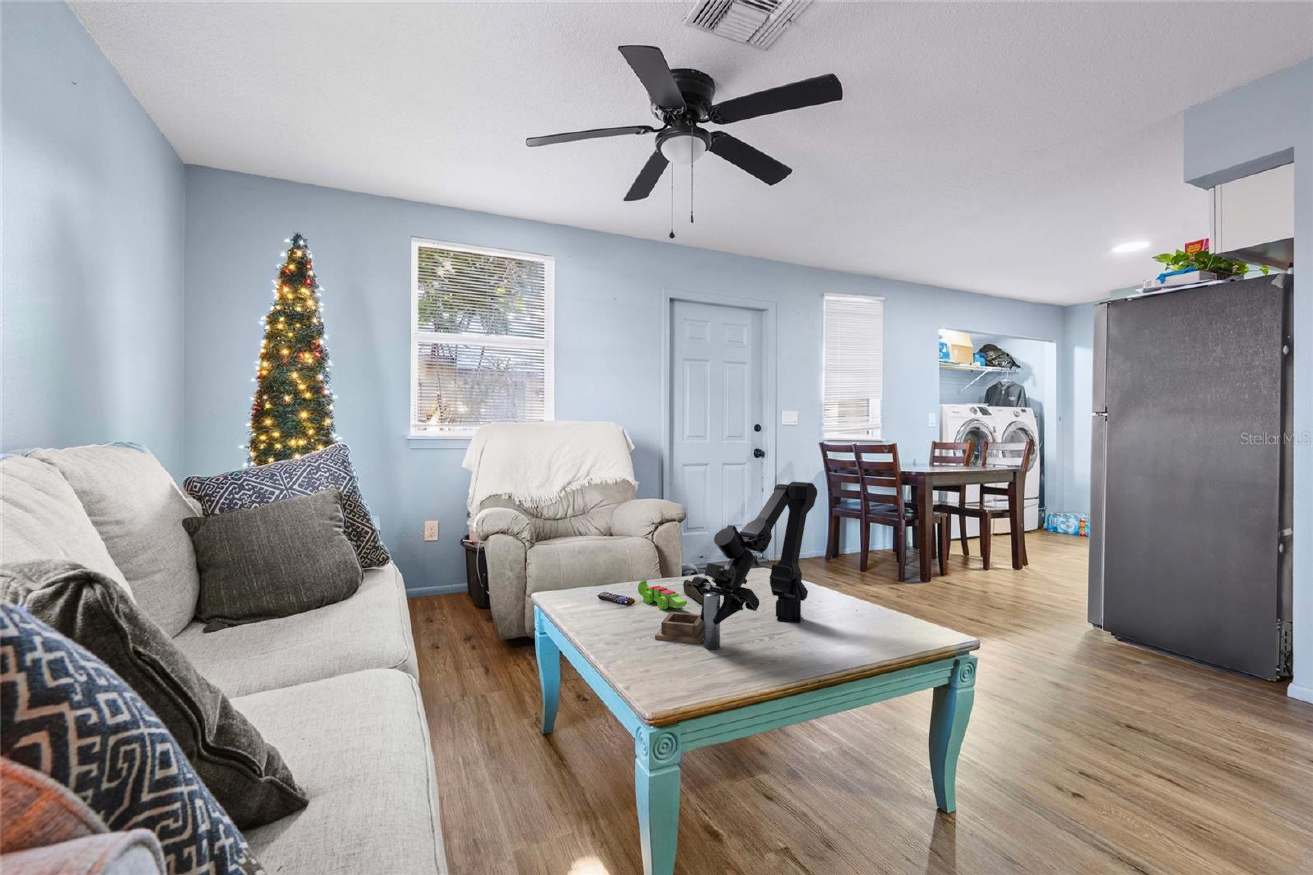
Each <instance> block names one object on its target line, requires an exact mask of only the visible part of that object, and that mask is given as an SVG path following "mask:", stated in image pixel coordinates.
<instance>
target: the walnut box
mask: <svg viewBox="0 0 1313 875" xmlns="http://www.w3.org/2000/svg"><path fill="white" fill-rule="evenodd" d="M700 616H701V613H700V614H698V613H688V612H687V613H686V612H677V611H676V612H675V611H674V612H673V611H670V612H669V613H668V614H667V616H666V617H665V618H664V619H663V620H662V621H661V623H660V624H661V627H660V629H659V630H658V631H657V632H656V633H655V635H654V639H655V640H661V641H662V640H663V641H671V642H680V643H690V644H700V645H702V643H704V620H703V621H702V620H701V619H700Z"/></svg>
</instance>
